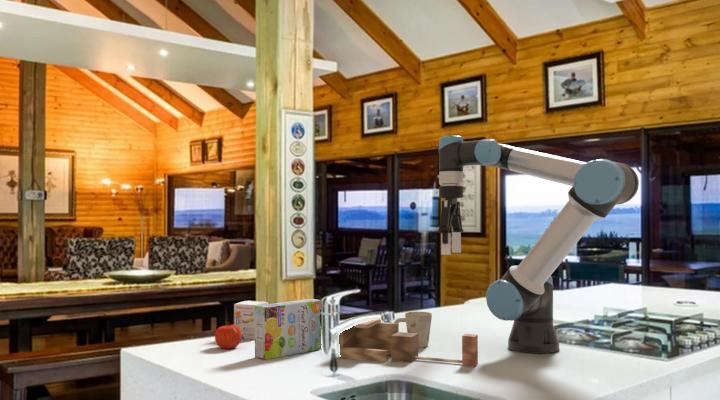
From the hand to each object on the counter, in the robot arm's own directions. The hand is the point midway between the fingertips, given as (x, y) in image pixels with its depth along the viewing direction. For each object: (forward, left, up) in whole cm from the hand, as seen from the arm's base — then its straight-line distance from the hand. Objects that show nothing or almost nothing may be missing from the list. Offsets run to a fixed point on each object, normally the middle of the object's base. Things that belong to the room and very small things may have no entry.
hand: (451, 253), depth 201 cm
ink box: (+66, +10, -29) cm, 73 cm away
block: (-1, +23, -29) cm, 37 cm away
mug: (+12, +3, -29) cm, 31 cm away
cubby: (+18, +23, -29) cm, 41 cm away
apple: (+63, +28, -29) cm, 75 cm away
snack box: (+42, +28, -29) cm, 58 cm away
